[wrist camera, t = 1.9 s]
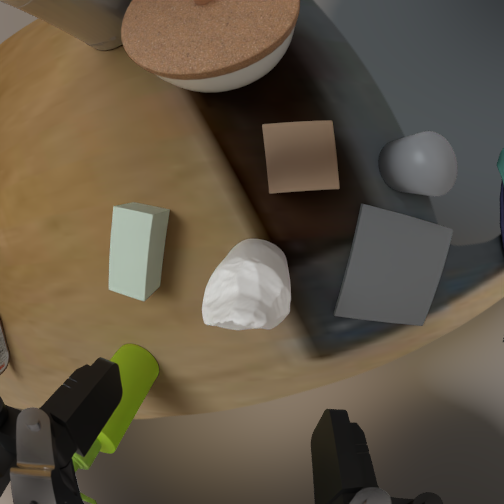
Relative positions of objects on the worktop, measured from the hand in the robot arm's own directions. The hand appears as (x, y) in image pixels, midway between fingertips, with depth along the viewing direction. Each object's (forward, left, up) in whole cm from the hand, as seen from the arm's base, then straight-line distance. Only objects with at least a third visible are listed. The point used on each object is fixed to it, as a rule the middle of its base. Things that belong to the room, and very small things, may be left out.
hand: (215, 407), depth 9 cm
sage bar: (0, -11, -17) cm, 21 cm away
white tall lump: (0, 0, -17) cm, 17 cm away
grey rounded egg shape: (-12, +12, -17) cm, 24 cm away
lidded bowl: (-20, -6, -17) cm, 27 cm away
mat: (-2, +14, -17) cm, 22 cm away
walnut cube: (-10, +2, -17) cm, 20 cm away
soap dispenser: (+16, -12, -17) cm, 26 cm away
